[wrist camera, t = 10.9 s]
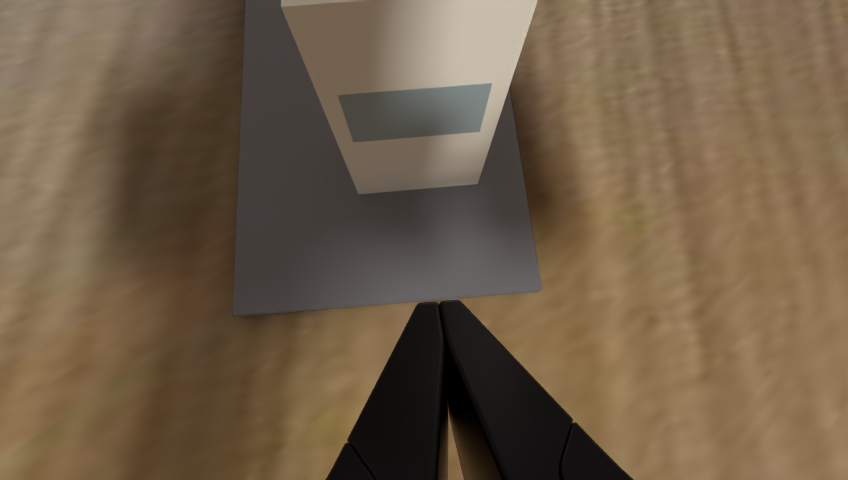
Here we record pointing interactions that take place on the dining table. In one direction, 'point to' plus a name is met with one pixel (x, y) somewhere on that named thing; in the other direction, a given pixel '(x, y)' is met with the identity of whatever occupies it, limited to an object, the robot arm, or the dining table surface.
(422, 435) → the robot arm
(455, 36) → the box
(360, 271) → the placemat
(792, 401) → the dining table surface
